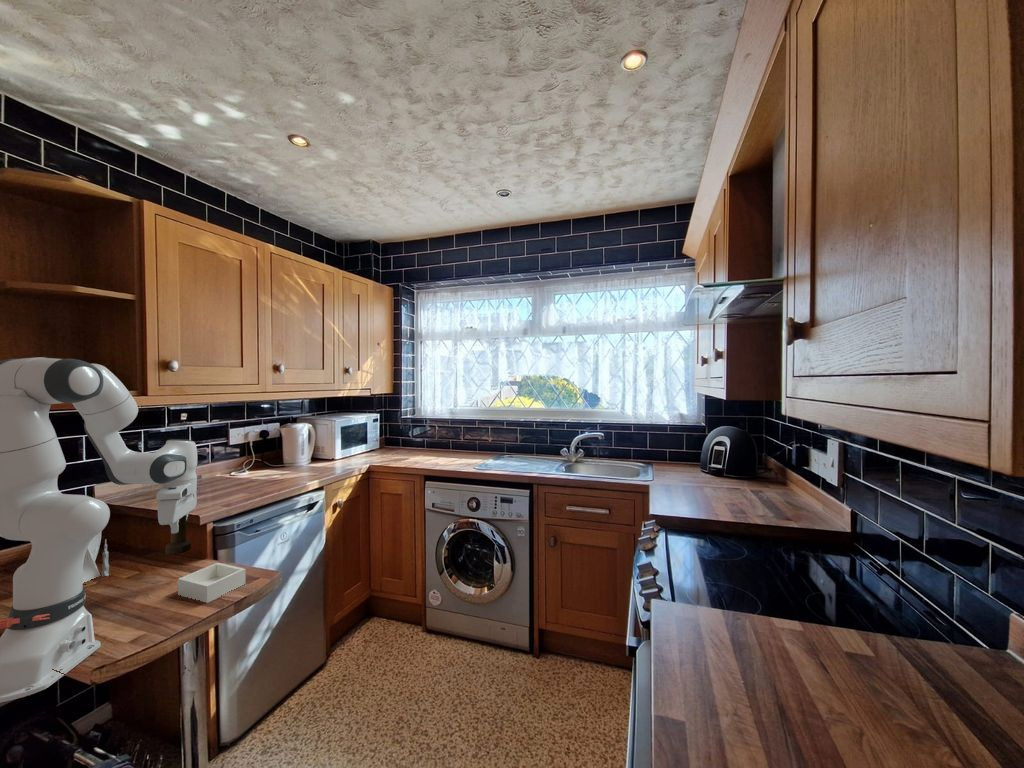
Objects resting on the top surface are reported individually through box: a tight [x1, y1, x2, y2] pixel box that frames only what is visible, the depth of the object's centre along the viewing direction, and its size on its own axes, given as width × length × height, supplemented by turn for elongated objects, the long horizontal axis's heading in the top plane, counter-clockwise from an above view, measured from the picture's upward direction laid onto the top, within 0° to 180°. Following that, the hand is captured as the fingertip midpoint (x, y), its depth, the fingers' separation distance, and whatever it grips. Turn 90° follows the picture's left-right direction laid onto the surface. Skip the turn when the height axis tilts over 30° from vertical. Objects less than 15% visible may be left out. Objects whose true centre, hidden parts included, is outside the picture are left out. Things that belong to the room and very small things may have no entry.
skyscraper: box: [83, 531, 111, 583], centre depth 134 cm, size 8×8×28 cm
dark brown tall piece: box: [165, 515, 192, 556], centre depth 134 cm, size 7×6×18 cm
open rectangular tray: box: [177, 562, 246, 604], centre depth 129 cm, size 12×13×5 cm
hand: (178, 530), depth 133 cm, fingers closed on dark brown tall piece, 4 cm apart
